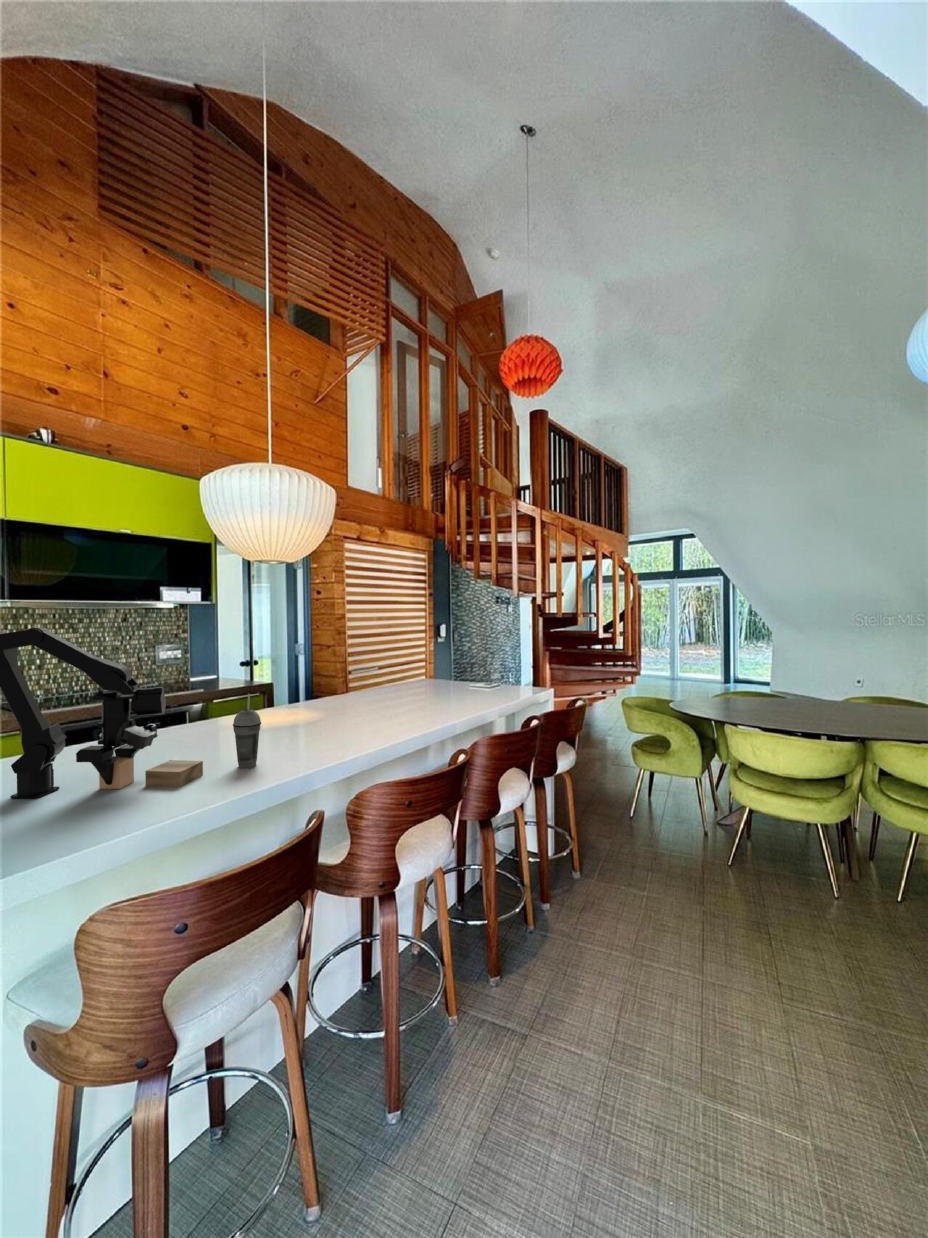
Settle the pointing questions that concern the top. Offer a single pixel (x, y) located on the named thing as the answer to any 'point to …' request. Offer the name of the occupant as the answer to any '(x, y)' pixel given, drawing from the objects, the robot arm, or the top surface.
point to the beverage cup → (247, 736)
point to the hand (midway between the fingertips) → (116, 780)
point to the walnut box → (174, 773)
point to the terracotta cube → (120, 774)
